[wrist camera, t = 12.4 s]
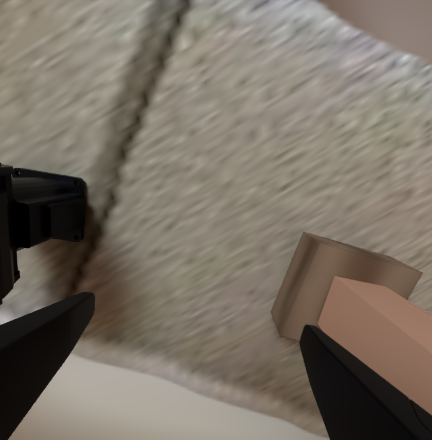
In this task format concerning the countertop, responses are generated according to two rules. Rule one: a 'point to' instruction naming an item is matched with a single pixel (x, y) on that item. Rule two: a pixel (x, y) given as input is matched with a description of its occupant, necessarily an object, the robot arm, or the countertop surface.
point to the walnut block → (331, 279)
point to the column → (382, 334)
